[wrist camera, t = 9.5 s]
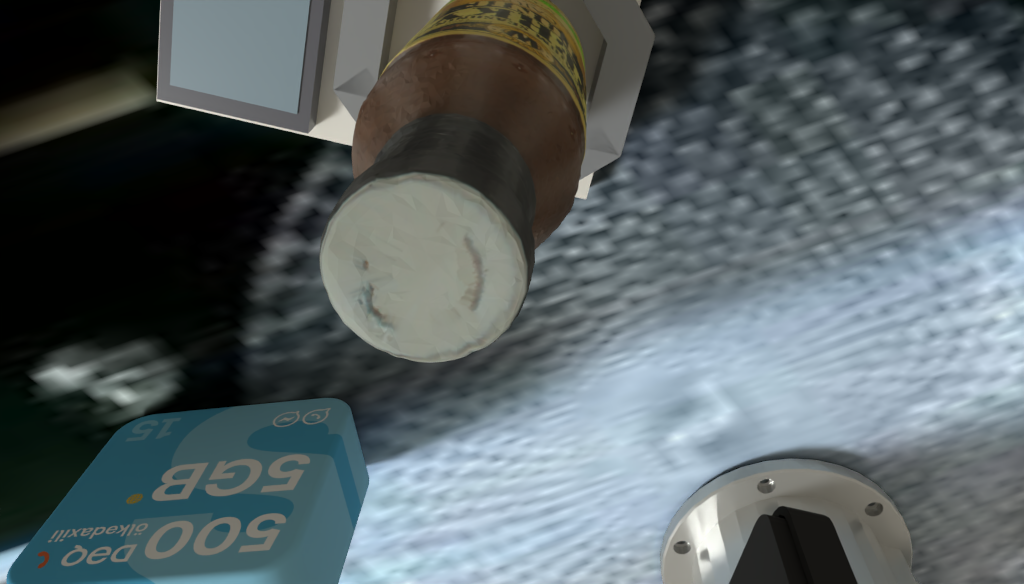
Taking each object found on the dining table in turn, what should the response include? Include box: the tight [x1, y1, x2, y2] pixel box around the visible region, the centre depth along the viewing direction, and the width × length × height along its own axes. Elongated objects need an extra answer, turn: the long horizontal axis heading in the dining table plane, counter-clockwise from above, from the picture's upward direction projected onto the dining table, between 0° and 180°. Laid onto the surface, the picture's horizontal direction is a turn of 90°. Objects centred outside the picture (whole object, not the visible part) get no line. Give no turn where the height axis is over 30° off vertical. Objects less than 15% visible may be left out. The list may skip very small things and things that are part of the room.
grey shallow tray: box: [157, 0, 655, 199], centre depth 33 cm, size 19×11×3 cm, turn 77°
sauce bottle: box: [319, 0, 587, 363], centre depth 25 cm, size 6×6×20 cm
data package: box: [7, 398, 369, 584], centre depth 39 cm, size 12×4×12 cm, turn 98°
